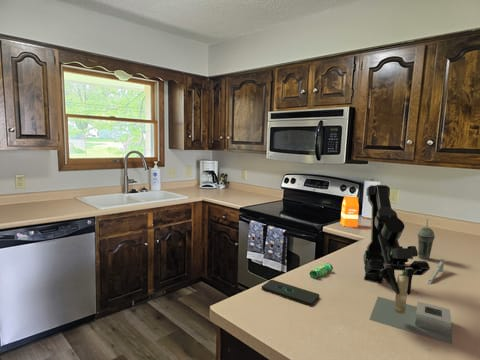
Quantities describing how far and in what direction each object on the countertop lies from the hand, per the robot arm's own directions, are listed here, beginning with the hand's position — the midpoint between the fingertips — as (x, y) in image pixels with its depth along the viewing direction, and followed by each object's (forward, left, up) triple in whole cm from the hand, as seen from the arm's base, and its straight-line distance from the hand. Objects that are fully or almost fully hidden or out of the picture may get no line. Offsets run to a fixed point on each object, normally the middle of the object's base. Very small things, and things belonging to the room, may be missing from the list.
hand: (403, 294), depth 97 cm
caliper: (+9, +50, -11) cm, 52 cm away
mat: (+2, +6, -10) cm, 12 cm away
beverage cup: (+4, +71, -10) cm, 72 cm away
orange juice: (-41, +111, -10) cm, 119 cm away
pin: (-1, +1, -6) cm, 7 cm away
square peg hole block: (+8, +6, -10) cm, 14 cm away
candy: (-32, +23, -11) cm, 41 cm away
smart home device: (-37, -1, -11) cm, 38 cm away
